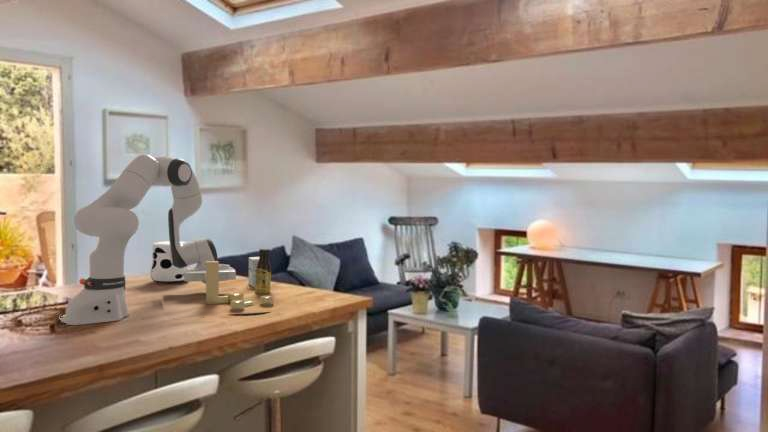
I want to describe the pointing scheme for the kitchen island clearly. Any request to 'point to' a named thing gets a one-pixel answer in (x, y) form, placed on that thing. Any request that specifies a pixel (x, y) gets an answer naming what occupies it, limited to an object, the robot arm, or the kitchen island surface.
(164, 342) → the kitchen island surface
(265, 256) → the sauce bottle
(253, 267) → the supplement box
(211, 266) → the lever knob
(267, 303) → the levelling plate
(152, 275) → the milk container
